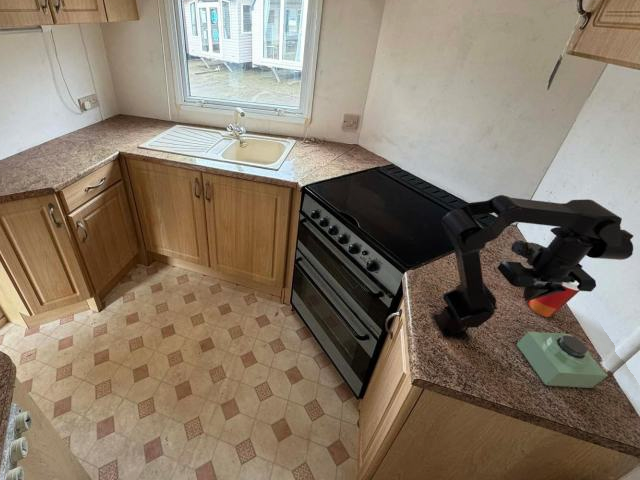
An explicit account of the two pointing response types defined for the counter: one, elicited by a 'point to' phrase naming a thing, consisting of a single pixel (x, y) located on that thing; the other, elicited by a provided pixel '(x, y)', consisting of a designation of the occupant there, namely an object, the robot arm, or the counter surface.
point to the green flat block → (559, 362)
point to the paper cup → (554, 300)
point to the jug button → (572, 346)
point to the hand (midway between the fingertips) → (526, 298)
